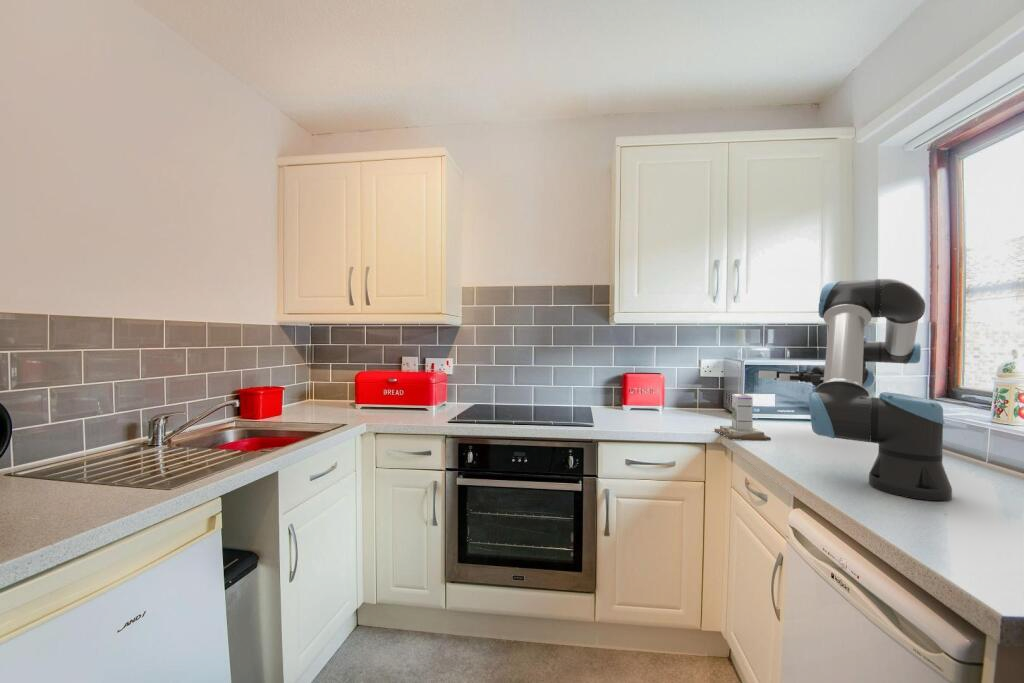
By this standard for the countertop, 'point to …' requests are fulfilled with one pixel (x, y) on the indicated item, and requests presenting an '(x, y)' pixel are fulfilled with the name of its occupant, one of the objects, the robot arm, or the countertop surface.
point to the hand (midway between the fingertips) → (769, 375)
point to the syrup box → (742, 412)
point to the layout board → (742, 434)
